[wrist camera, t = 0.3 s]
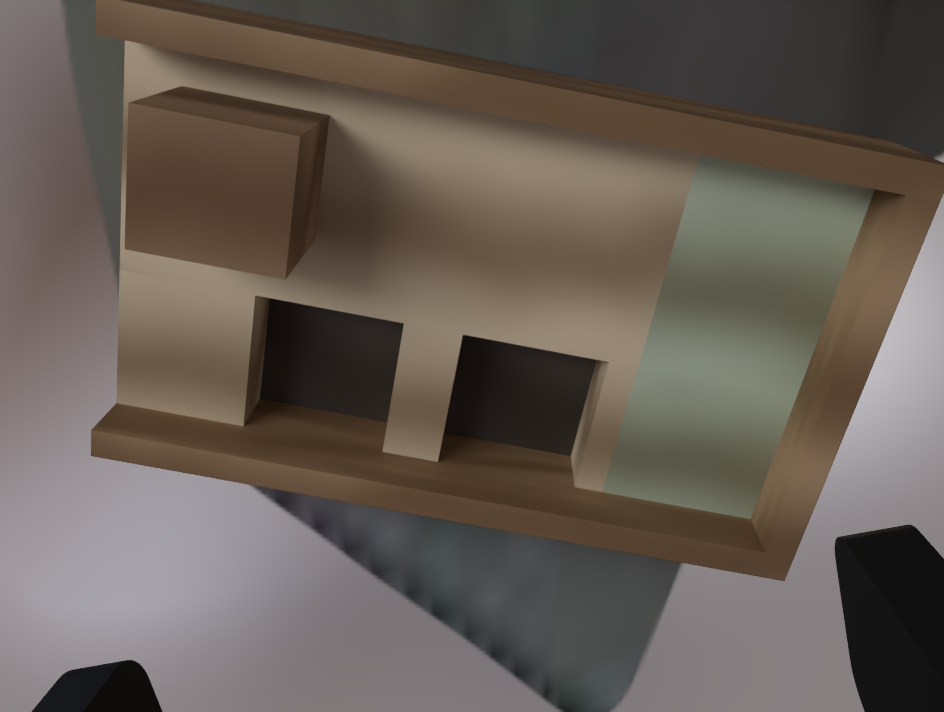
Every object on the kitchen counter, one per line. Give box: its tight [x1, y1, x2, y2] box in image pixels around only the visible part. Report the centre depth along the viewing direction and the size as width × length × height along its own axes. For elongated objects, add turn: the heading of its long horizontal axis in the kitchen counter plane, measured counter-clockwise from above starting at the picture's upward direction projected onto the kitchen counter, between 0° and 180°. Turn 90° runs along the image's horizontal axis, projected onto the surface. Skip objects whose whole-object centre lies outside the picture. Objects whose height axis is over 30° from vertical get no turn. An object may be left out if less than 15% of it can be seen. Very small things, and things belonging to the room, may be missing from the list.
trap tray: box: [91, 0, 944, 581], centre depth 29 cm, size 14×24×4 cm, turn 79°
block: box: [125, 86, 330, 280], centre depth 25 cm, size 4×4×4 cm
